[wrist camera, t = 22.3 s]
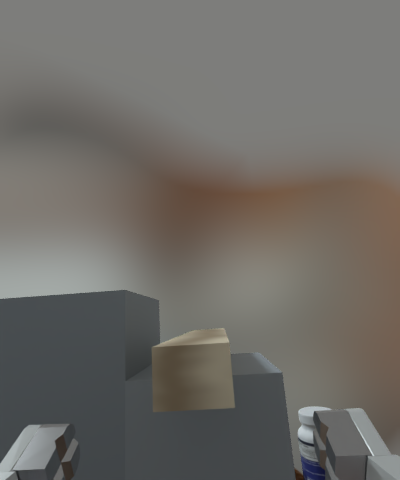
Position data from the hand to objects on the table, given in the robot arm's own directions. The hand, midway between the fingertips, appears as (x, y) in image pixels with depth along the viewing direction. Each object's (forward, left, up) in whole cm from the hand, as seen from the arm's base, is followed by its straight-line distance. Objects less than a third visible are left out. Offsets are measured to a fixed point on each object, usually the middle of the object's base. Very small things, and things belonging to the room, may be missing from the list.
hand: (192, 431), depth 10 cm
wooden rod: (0, +17, -1) cm, 17 cm away
